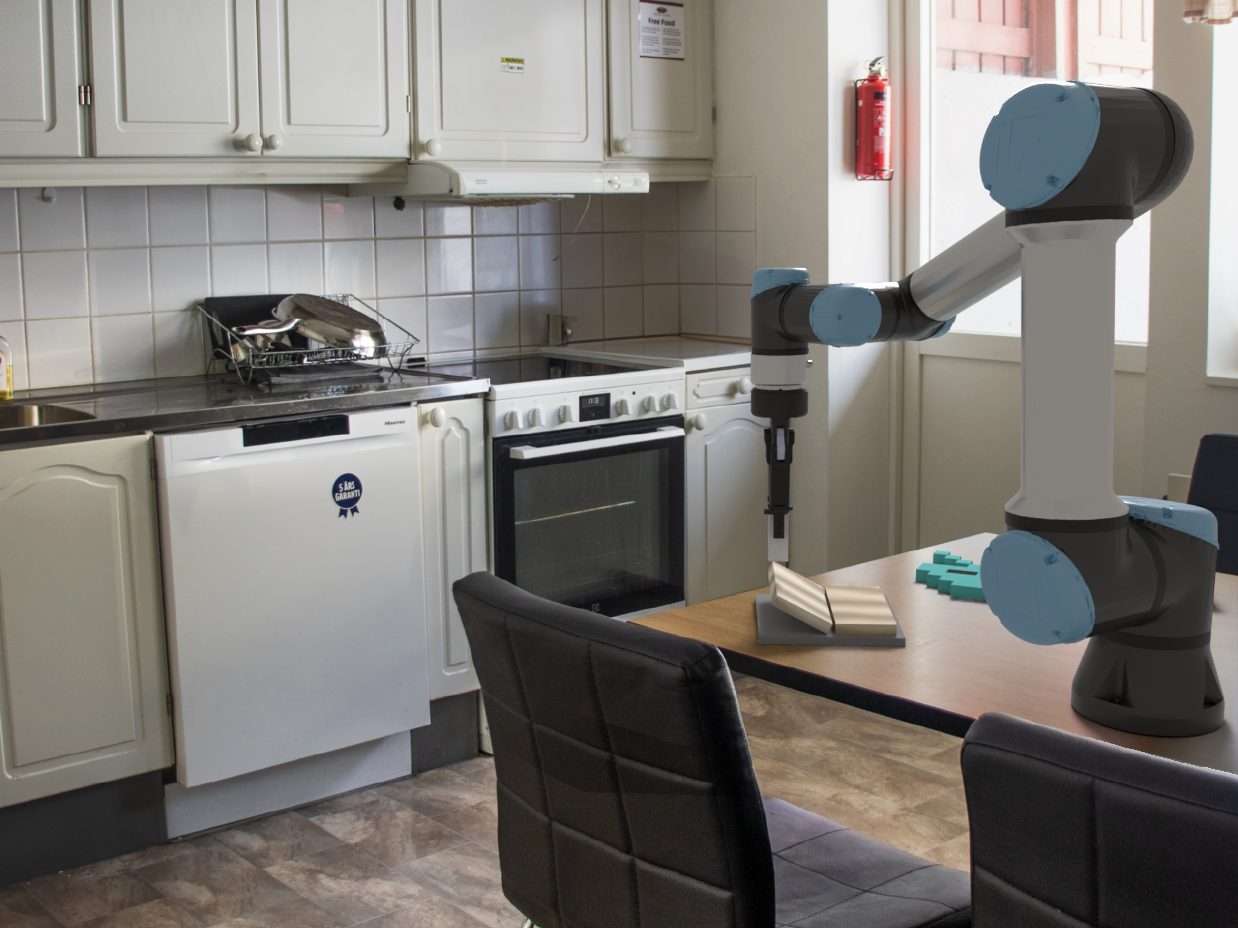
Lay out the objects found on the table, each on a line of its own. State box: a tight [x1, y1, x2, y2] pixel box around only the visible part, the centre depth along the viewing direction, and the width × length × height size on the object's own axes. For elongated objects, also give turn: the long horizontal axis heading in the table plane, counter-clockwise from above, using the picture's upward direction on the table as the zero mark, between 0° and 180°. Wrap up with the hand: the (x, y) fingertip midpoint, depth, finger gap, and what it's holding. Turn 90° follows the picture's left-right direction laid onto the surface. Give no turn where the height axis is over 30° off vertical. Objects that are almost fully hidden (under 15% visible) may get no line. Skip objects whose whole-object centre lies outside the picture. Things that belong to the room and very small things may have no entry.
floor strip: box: [824, 585, 897, 636], centre depth 162 cm, size 18×8×2 cm, turn 175°
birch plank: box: [767, 561, 833, 634], centre depth 162 cm, size 18×8×2 cm, turn 175°
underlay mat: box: [755, 593, 907, 647], centre depth 162 cm, size 20×18×1 cm
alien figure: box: [915, 550, 987, 602], centre depth 181 cm, size 20×2×20 cm
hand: (777, 559), depth 162 cm, fingers closed
